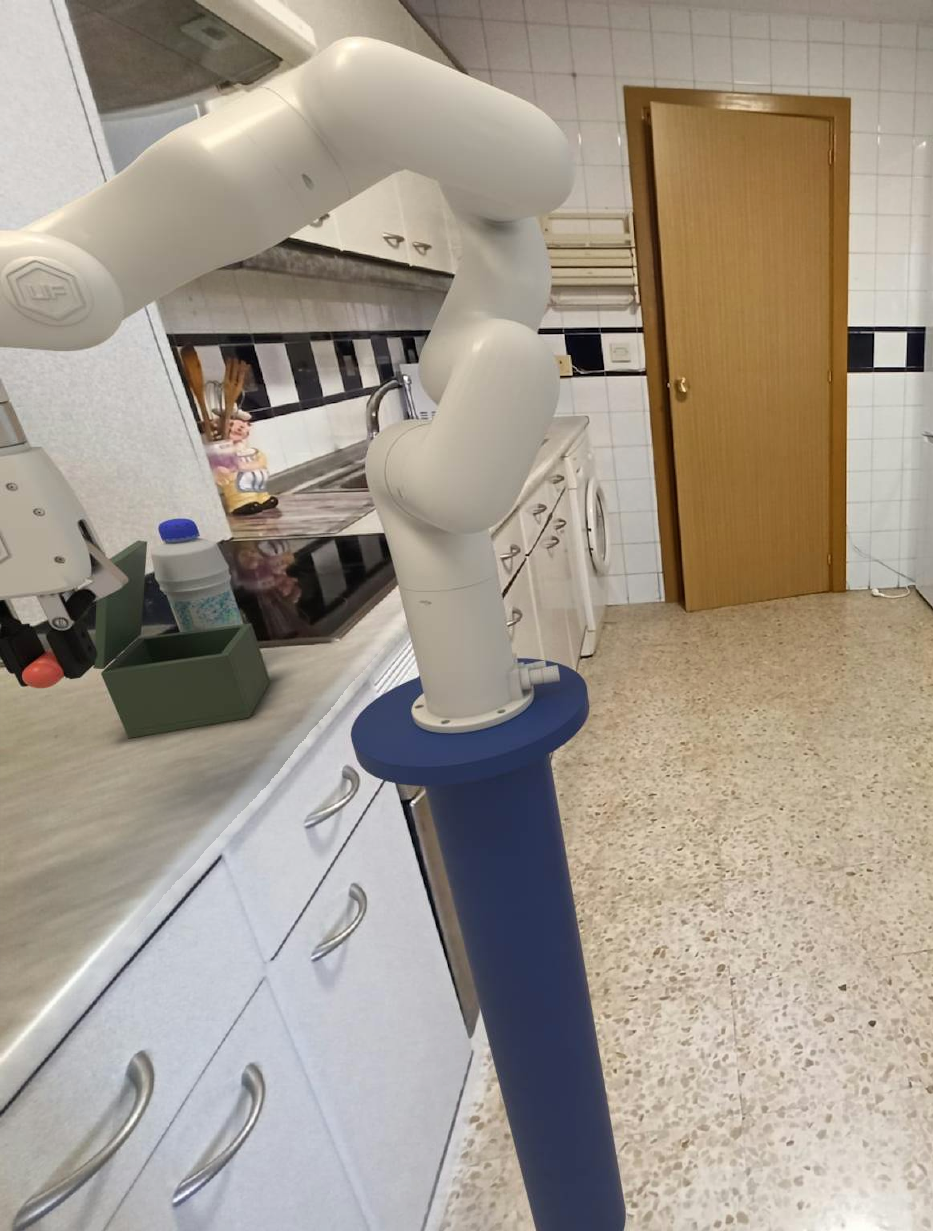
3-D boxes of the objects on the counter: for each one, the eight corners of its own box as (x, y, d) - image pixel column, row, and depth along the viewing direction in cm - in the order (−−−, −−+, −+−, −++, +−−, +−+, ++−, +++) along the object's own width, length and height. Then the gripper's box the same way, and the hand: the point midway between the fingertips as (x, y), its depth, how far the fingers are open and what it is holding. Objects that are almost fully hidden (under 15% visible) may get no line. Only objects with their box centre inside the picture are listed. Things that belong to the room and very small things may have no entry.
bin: (270, 681, 88) (251, 622, 85) (249, 718, 80) (227, 655, 77) (162, 698, 84) (138, 637, 81) (128, 738, 76) (100, 673, 73)
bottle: (212, 666, 91) (157, 513, 84) (271, 660, 93) (223, 510, 85) (182, 690, 85) (120, 528, 78) (246, 684, 87) (192, 525, 79)
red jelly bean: (62, 662, 58) (51, 639, 57) (94, 657, 59) (84, 635, 58) (23, 695, 53) (10, 671, 52) (58, 689, 53) (46, 666, 53)
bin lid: (147, 541, 78) (85, 532, 76) (109, 567, 70) (38, 557, 68) (141, 634, 81) (81, 628, 78) (103, 669, 73) (35, 663, 70)
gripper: (-280, 454, 42) (-116, 721, 50) (69, 433, 48) (170, 675, 55) (-182, 435, 49) (-49, 675, 56) (116, 419, 54) (201, 638, 62)
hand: (59, 673), depth 56 cm, fingers closed on red jelly bean, 2 cm apart
